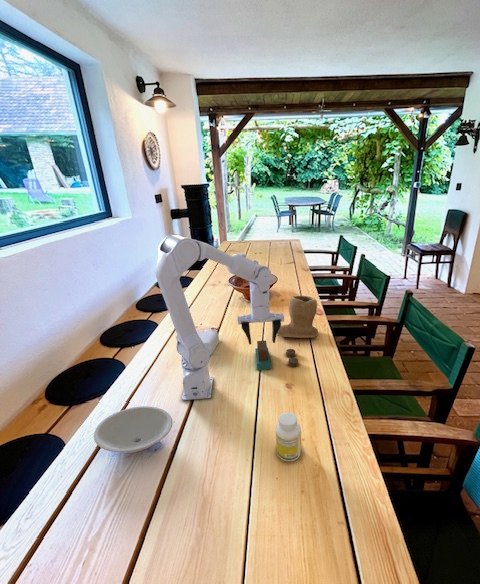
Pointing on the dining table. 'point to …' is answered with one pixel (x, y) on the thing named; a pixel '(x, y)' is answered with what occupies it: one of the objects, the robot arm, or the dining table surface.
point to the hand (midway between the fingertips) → (261, 342)
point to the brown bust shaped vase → (300, 318)
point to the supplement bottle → (288, 437)
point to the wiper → (262, 356)
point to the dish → (133, 429)
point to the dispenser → (209, 339)
